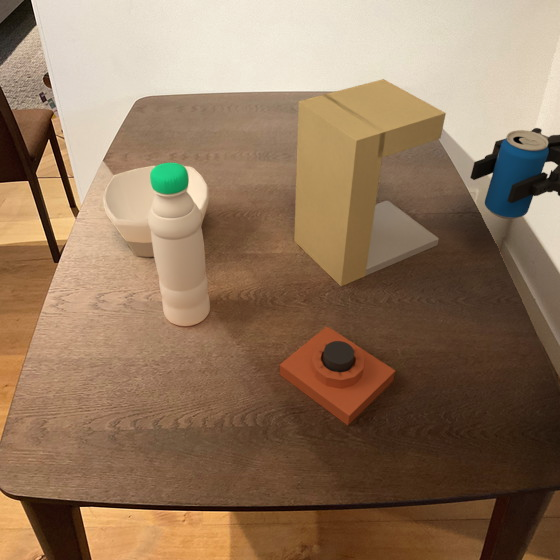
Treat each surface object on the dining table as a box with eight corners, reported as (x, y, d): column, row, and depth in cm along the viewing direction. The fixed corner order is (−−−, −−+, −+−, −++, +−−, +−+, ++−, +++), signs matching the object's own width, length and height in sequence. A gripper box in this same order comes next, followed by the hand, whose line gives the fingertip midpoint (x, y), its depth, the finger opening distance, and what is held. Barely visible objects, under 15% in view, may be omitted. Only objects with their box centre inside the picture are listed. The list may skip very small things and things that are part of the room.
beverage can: (487, 194, 93) (507, 125, 85) (529, 204, 91) (554, 134, 83) (479, 215, 88) (499, 144, 80) (523, 226, 86) (548, 155, 78)
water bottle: (214, 298, 91) (201, 156, 74) (205, 330, 86) (190, 186, 69) (170, 294, 91) (148, 153, 75) (159, 326, 86) (132, 182, 70)
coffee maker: (437, 245, 102) (471, 105, 84) (340, 286, 93) (356, 140, 76) (386, 206, 110) (407, 72, 93) (294, 241, 102) (298, 100, 85)
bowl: (112, 275, 95) (101, 229, 89) (111, 214, 108) (101, 170, 101) (220, 260, 98) (216, 214, 92) (206, 202, 111) (202, 159, 105)
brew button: (359, 360, 77) (360, 351, 76) (340, 377, 75) (341, 368, 74) (335, 344, 79) (336, 336, 78) (316, 361, 77) (317, 352, 76)
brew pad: (393, 381, 79) (397, 361, 76) (347, 426, 73) (350, 407, 71) (325, 336, 85) (327, 317, 82) (279, 374, 80) (279, 355, 77)
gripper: (640, 190, 89) (539, 238, 79) (538, 138, 101) (440, 174, 92) (662, 146, 84) (556, 192, 74) (551, 97, 96) (449, 131, 87)
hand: (492, 182), depth 83 cm, fingers closed on beverage can, 6 cm apart
